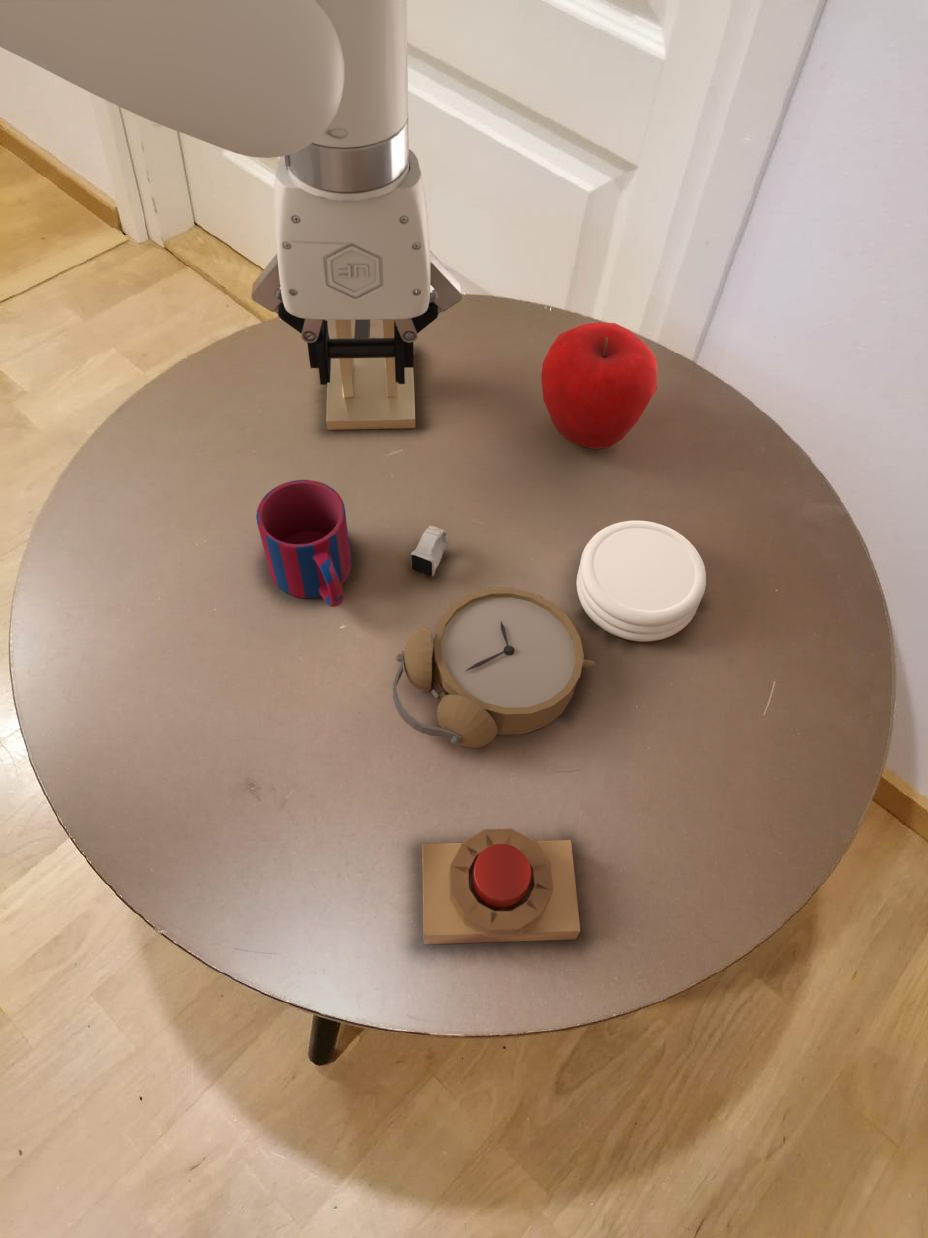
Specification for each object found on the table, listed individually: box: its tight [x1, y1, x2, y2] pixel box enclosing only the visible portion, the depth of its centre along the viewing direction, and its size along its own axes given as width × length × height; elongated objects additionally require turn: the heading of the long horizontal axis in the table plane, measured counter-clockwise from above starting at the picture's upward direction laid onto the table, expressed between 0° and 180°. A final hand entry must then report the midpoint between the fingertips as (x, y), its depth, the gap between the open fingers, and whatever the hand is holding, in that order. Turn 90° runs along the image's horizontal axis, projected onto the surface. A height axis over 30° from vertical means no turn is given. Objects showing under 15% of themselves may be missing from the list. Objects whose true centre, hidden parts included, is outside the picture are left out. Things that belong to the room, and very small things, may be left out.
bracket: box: [325, 319, 416, 431], centre depth 83 cm, size 10×8×13 cm
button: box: [473, 844, 531, 908], centre depth 59 cm, size 4×4×2 cm
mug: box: [255, 479, 352, 608], centre depth 73 cm, size 7×10×7 cm
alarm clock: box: [392, 587, 596, 749], centre depth 70 cm, size 11×5×15 cm
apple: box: [540, 321, 658, 450], centre depth 81 cm, size 10×10×11 cm
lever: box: [327, 320, 395, 359], centre depth 75 cm, size 13×5×2 cm, turn 3°
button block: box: [421, 828, 581, 945], centre depth 61 cm, size 10×6×4 cm, turn 92°
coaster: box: [575, 520, 707, 642], centre depth 75 cm, size 10×10×4 cm
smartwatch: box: [410, 525, 449, 578], centre depth 76 cm, size 4×2×4 cm, turn 156°
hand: (363, 369), depth 72 cm, fingers closed on lever, 5 cm apart
